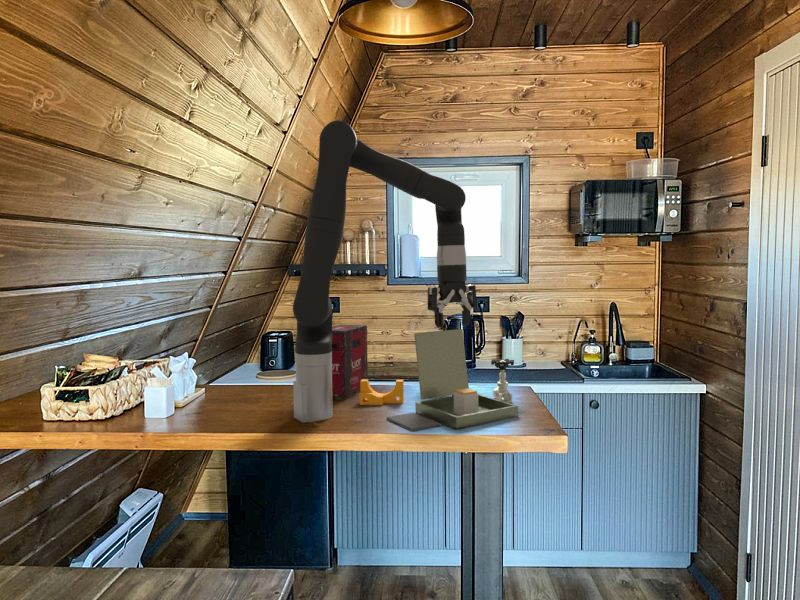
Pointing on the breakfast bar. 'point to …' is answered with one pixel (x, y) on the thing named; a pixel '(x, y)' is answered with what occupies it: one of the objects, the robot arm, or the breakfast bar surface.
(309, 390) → the robot arm
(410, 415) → the mat
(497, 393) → the valve
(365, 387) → the pipe clamp
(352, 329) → the box
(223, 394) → the breakfast bar surface
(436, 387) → the lid
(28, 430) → the breakfast bar surface
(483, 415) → the case
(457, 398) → the block
